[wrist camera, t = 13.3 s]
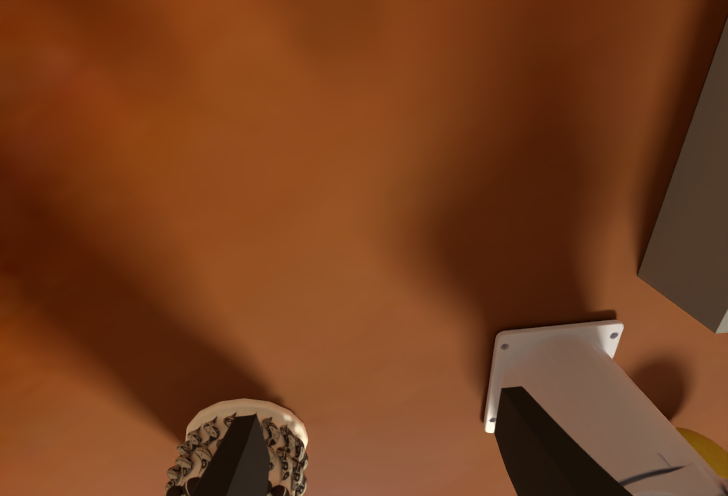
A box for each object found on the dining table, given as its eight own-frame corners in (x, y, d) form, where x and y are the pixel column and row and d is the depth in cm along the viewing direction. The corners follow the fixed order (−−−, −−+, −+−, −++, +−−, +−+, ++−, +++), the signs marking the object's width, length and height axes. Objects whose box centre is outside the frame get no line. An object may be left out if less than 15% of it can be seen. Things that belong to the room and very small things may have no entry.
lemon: (619, 456, 30) (704, 577, 23) (614, 418, 28) (708, 541, 21) (687, 435, 30) (796, 554, 23) (688, 394, 27) (812, 513, 20)
